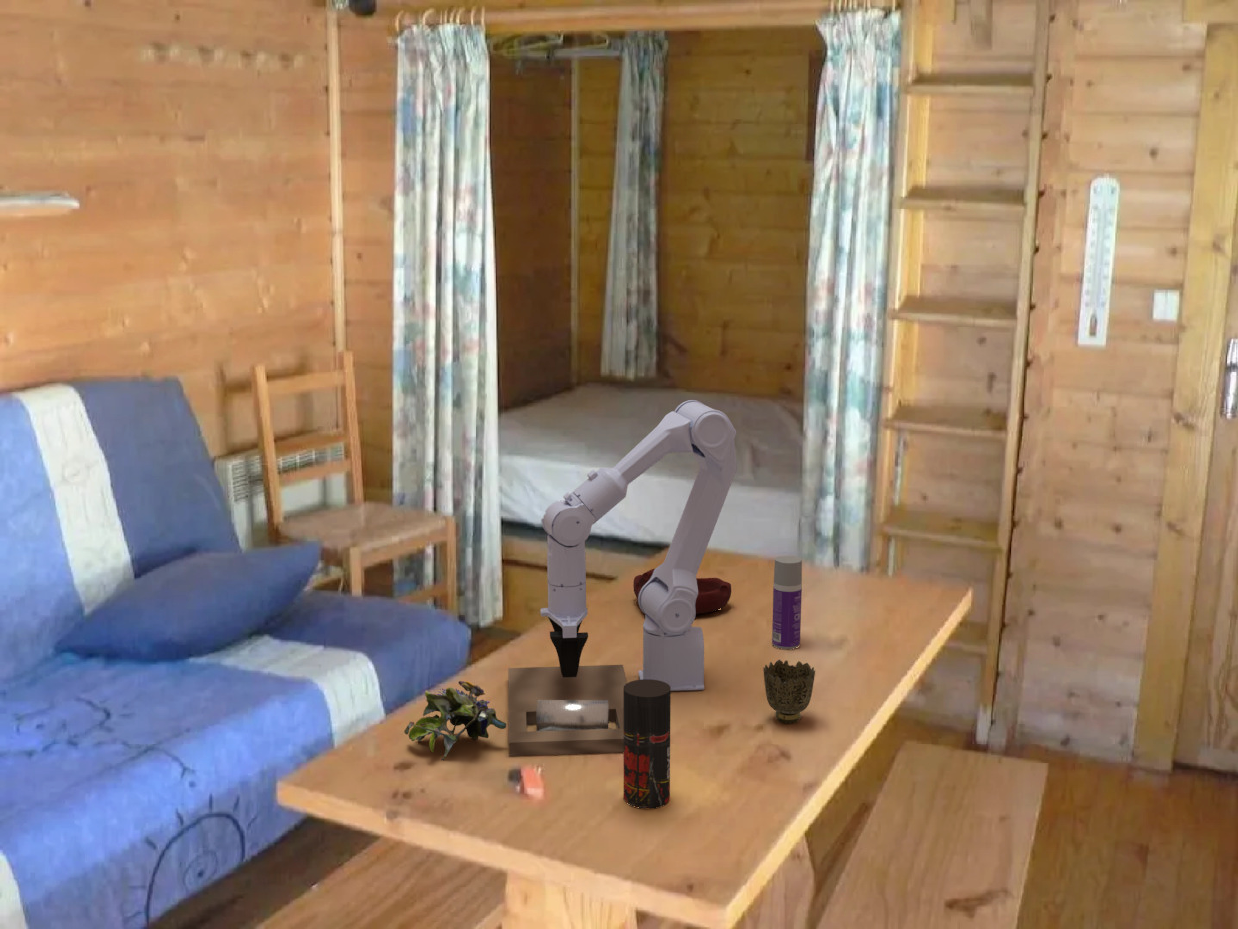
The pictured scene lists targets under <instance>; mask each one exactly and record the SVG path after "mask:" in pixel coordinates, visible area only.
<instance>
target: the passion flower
mask: <svg viewBox="0 0 1238 929" xmlns="http://www.w3.org/2000/svg"><path fill="white" fill-rule="evenodd" d="M458 685H459V686H460V687H462V688H463V689H464V690H465V691H466V692H468V693H469V694H468V693H465V692H464V691H463V690H459V689H457V688H454V687H451V686H450V687H447V688H446V689H444V688H443V687H442V688H440V689H439V690H440V691H437V692H438V693H437V694H435V693H431V692H429V691H428V690H425V691H424V696H425V697H426V699H425V700H426V702H427V705H426V706H425V707H424V710H423V714H422V716H423V717H421V718H419V720H417V721H416V723H415V722H414V721H409V722H408V725H407V726H406V728H405V729H404V731H403V732H404V734H405V735H408V739H409V740H411V742H414V741H415V742H416V741H417V742H418V743H420V742H422V740H424V739H425V738H426V736H428V735H429V736H430V735H431V736H430V738H429V744H428V745H429V749H430V751H431V752H432V753H434V750H435V746H436V740H437V739H438V738H439V737H440V736H442V737H443V745H444V747H445V751H444V755H443V757H441V758H442V759H441V761H442V760H443V761H445V758H446V757H447V755H448V754H449V752H450V750H451V749H452V747H453V746H454V744H455V743H458V742H459V738H460V736H461V735H462V734H463V733H464V732H465V731H466V733H467V736H468V737H469V738H470V739H471V740H472V739H473V740H477V739H478V738H484V739H488V738H489V736H490V735H489V732H488V730H487V729H488V727H489V726H490V725H492V726H494V727H496V729H497V728H498V729H500V730H505V729H506V728H507V722H505V721H502V720H501V719H498V717H497V714H496V713H497V712H496V710H495V708H490V707H488V704H490V702H491V701H488V700H484V699H480V700H477V698H478V697H480V696H483V695H486V693H485V691H484V689H482V688H481V687H480V686H479V685H477V684H476V685H475V684H473V683H472V682H470V681H467V680H466V681H462V680H458ZM441 690H442V691H441ZM439 693H440V694H439ZM473 695H474V696H473ZM434 712H439V713H440V716H439V715H438V714H436V713H435V715H434V716H433V715H432V716H430V714H431V713H434ZM426 715H429V716H426ZM448 721H449V723H450V724H451V725H452V726H453V729H452V730H450V729H449V728H448V726H447V724H448ZM462 725H463V726H464V728H463V729H461V731H459V732H458V733H457V734H455V731H456V727H457V726H462ZM442 731H444V732H446V733H448V734H446V733H443V732H442Z"/></svg>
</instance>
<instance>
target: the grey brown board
mask: <svg viewBox="0 0 1238 929" xmlns="http://www.w3.org/2000/svg"><path fill="white" fill-rule="evenodd" d="M507 674H508V675H507V677H508V678H507V683H508V684H507V685H508V686H507V687H508V688H507V691H508V695H507V696H508V699H507V700H508V704H507V706H508V756H509V757H526V756H527V757H530V756H532V757H533V756H556V755H558V756H559V755H580V754H581V755H585V754H586V755H587V754H609V753H610V754H611V753H612V754H613V753H617V754H618V753H624V693H623V689H624V686H625V684H627V683H628V681H627V676H626V672H625V668H624V664H600V665H599V664H598V665H596V664H595V665H579V668H578V673H577V676H576V677H563V676H562V673H561V669H560V666H540V667H538V666H537V667H535V666H533V667H528V666H527V667H508V668H507ZM538 700H608V704H609V723H615V725H616V728H608V729H588V730H559V731H537V730H534V731H533V730H532V731H531V730H530V731H529V730H527V726H529V725H531V726H532V725H536V716H537V701H538Z"/></svg>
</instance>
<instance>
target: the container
mask: <svg viewBox="0 0 1238 929" xmlns="http://www.w3.org/2000/svg"><path fill="white" fill-rule="evenodd" d="M802 559H803V558H801V557H799V556H795V555H778V556H776V557H775V558H774V569H773V570H774V571H773V572H774V573H773V587H772V588H773V590H772V627H771V628H772V633H771V645H772V644H773V645H774V646H775V647H777V648H776V649H778V648H782V649H792V650H794V649H793V648H796V647H798V646H799V645H800V646H801V628H802V627H801V626H802V624H801V622H802V621H801V620H802V593H803V592H802V590H803V589H802V586H803V585H802V584H803V582H802V580H803V577H802V576H803V575H802V574H803V570H802V569H803V568H802V567H803V563H802V562H803V560H802ZM773 645H772V646H773ZM775 647H774V648H775ZM782 649H781V650H782Z"/></svg>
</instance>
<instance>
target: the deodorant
mask: <svg viewBox="0 0 1238 929" xmlns="http://www.w3.org/2000/svg"><path fill="white" fill-rule="evenodd" d="M623 693H624V752H623V801H624V802H625V804H627V803H628V804H630V805H632V806H635V807H634V808H636V807H639V808H638V809H641V808H654V809H657V808H656V807H659V808H661V806H662V807H664V806H666V805H667V804H668V803H669V802H670V800H671V702H672V701H671V700H672V698H671V694H672V691H671V687H670V686H669V685H668V684H667V683H665V682H663V681H659V680H652V679H642V680H640V679H636V680H632V681H629V682H627V684H625V686H624V689H623ZM628 804H627V805H628ZM630 805H629V806H630ZM663 805H664V806H663ZM632 806H631V807H632Z"/></svg>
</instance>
